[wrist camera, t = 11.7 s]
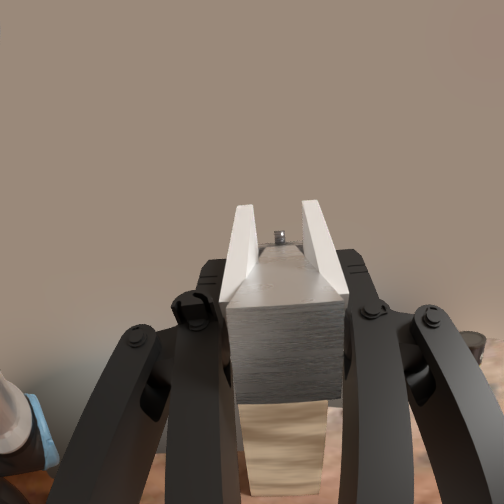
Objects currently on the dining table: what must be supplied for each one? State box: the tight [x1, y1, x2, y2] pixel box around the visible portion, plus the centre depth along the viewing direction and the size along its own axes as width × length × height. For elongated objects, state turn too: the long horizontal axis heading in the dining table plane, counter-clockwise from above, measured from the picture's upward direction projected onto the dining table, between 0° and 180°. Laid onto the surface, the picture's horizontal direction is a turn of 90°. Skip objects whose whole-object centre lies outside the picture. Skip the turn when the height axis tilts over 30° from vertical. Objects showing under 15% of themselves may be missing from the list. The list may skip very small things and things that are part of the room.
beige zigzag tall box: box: [238, 400, 328, 497], centre depth 37 cm, size 12×12×33 cm
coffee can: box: [459, 331, 486, 367], centre depth 51 cm, size 10×10×14 cm
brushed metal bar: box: [226, 231, 344, 404], centre depth 18 cm, size 24×6×4 cm, turn 175°
